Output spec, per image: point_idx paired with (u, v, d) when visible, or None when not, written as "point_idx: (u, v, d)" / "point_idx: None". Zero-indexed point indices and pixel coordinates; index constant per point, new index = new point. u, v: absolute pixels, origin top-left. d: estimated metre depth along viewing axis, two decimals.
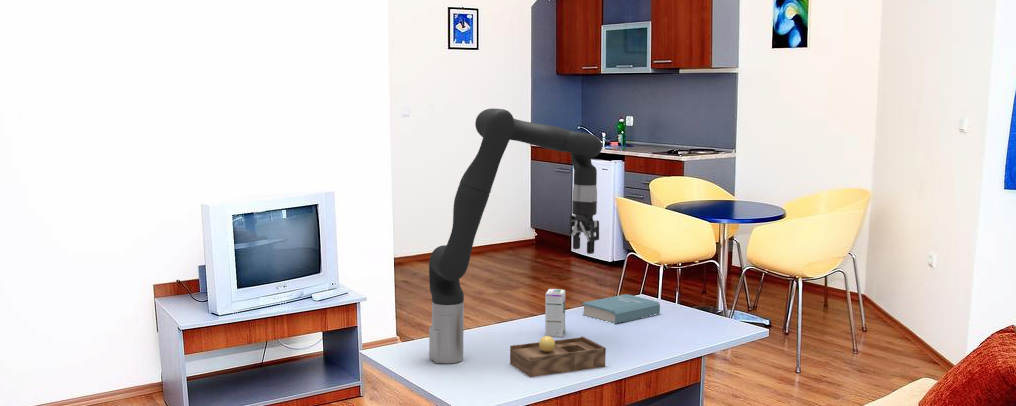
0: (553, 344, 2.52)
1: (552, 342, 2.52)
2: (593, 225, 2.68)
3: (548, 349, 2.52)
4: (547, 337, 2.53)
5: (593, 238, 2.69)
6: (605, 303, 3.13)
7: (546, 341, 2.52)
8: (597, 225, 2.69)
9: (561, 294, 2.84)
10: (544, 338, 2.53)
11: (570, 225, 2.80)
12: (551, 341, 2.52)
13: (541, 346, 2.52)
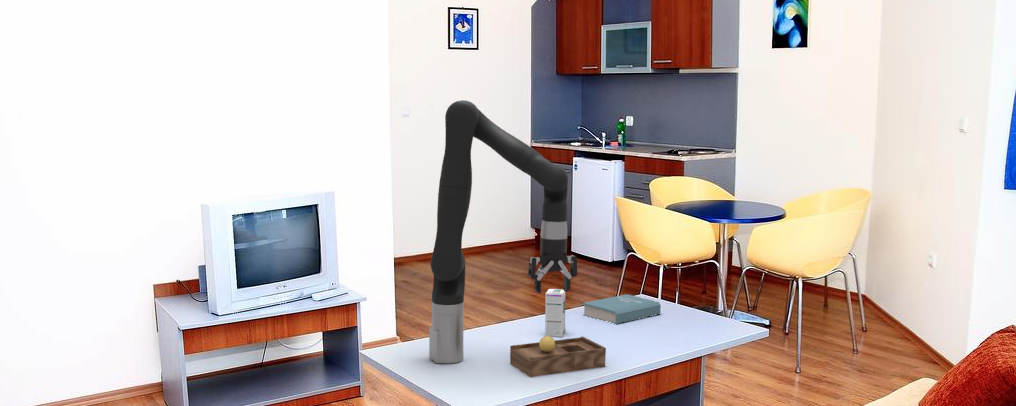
0: (553, 344, 2.52)
1: (552, 342, 2.52)
2: None
3: (548, 349, 2.52)
4: (547, 337, 2.53)
5: None
6: (606, 303, 3.13)
7: (546, 341, 2.52)
8: None
9: (561, 294, 2.84)
10: (544, 338, 2.53)
11: (533, 269, 2.52)
12: (551, 341, 2.52)
13: (541, 346, 2.52)
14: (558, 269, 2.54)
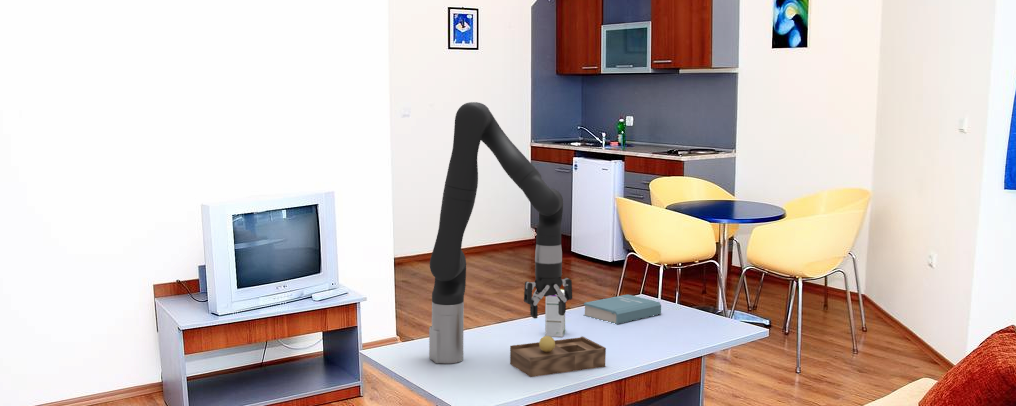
0: (553, 344, 2.52)
1: (552, 342, 2.52)
2: None
3: (548, 349, 2.52)
4: (547, 337, 2.53)
5: None
6: (606, 303, 3.13)
7: (546, 341, 2.52)
8: None
9: None
10: (544, 338, 2.53)
11: (530, 294, 2.48)
12: (551, 341, 2.52)
13: (541, 346, 2.52)
14: (554, 293, 2.52)
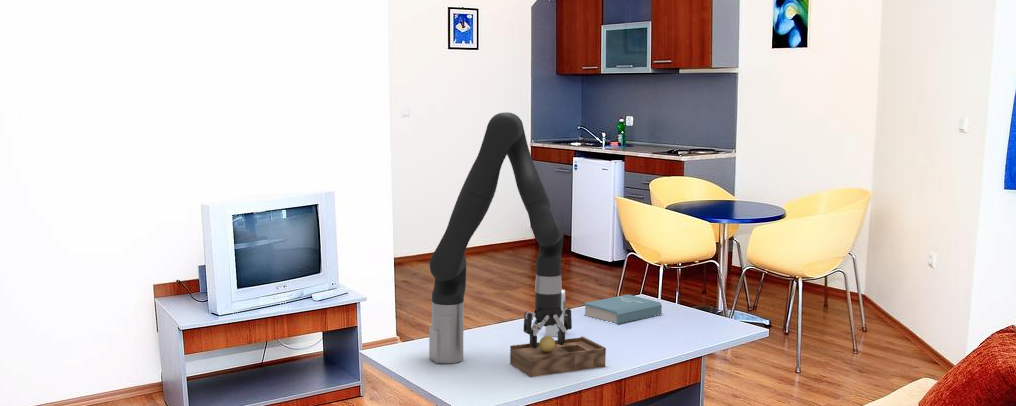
0: (553, 344, 2.52)
1: (552, 342, 2.52)
2: None
3: (548, 349, 2.52)
4: (547, 337, 2.53)
5: None
6: (607, 303, 3.13)
7: (546, 341, 2.52)
8: None
9: None
10: (544, 338, 2.53)
11: (529, 324, 2.49)
12: (551, 341, 2.52)
13: (541, 346, 2.52)
14: (553, 323, 2.53)
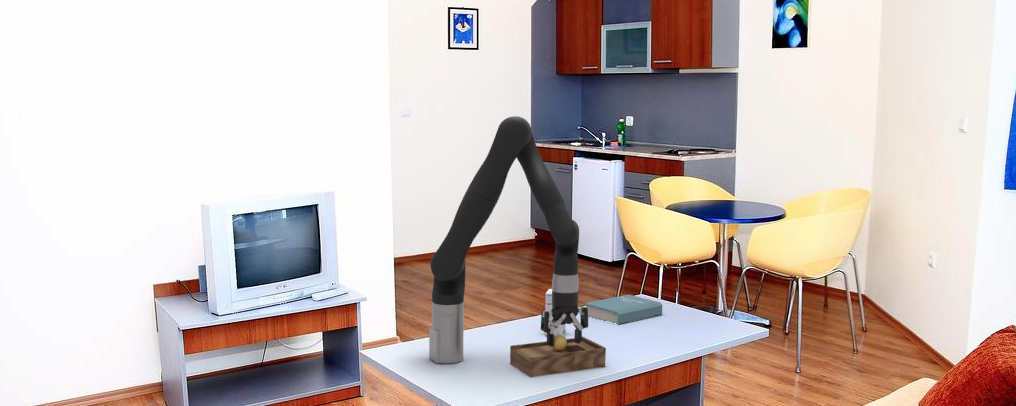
0: (564, 346, 2.54)
1: (565, 344, 2.54)
2: None
3: (558, 344, 2.53)
4: (565, 338, 2.55)
5: None
6: (607, 303, 3.13)
7: (564, 338, 2.54)
8: None
9: None
10: (563, 336, 2.55)
11: (546, 322, 2.51)
12: (565, 342, 2.54)
13: (556, 337, 2.54)
14: (570, 321, 2.55)
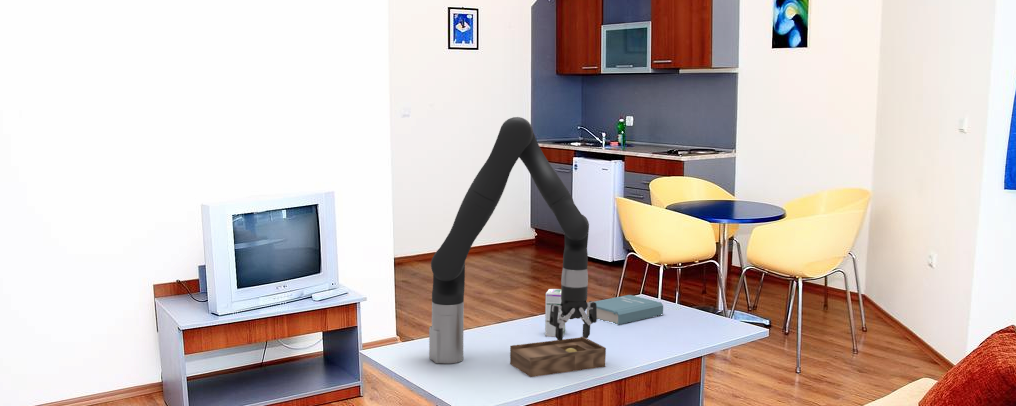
0: None
1: None
2: None
3: None
4: None
5: None
6: (608, 304, 3.12)
7: None
8: None
9: None
10: None
11: (556, 317, 2.53)
12: None
13: None
14: (579, 316, 2.56)
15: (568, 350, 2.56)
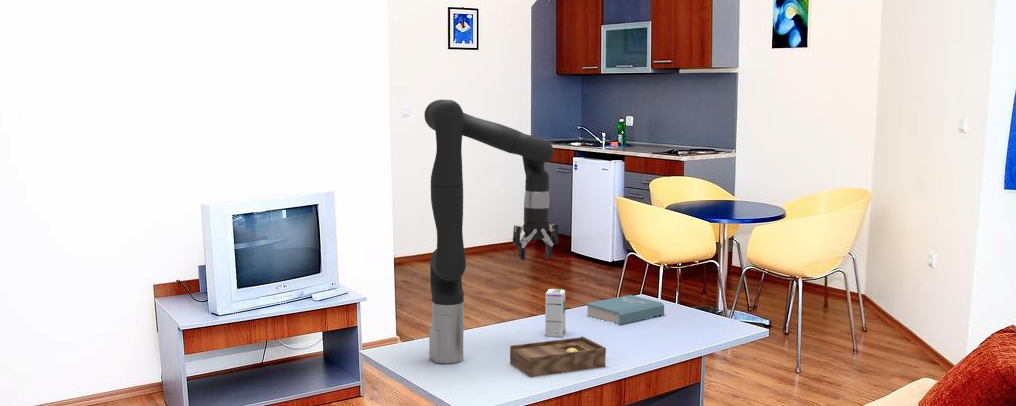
0: None
1: None
2: None
3: None
4: None
5: None
6: (609, 304, 3.12)
7: None
8: None
9: (561, 294, 2.84)
10: None
11: (518, 237, 2.64)
12: None
13: None
14: (541, 237, 2.67)
15: (570, 349, 2.57)
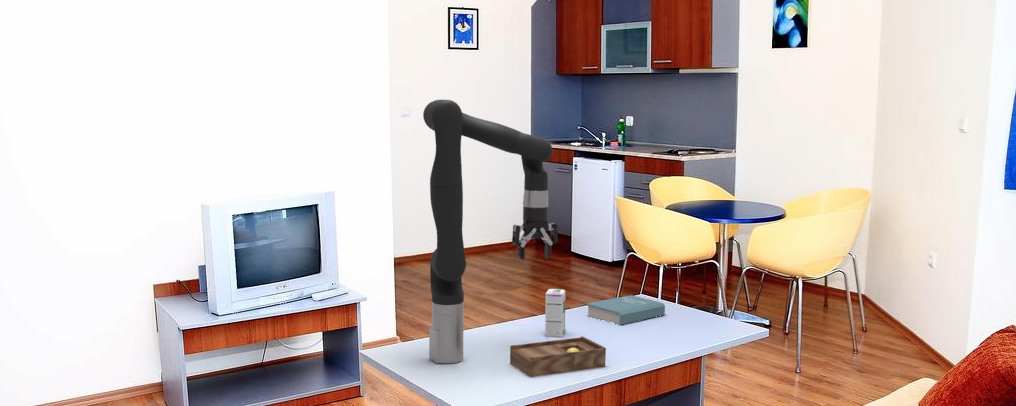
0: None
1: None
2: None
3: None
4: None
5: None
6: (610, 304, 3.12)
7: None
8: None
9: (561, 294, 2.84)
10: None
11: (517, 236, 2.64)
12: None
13: None
14: (540, 236, 2.68)
15: (572, 349, 2.57)
